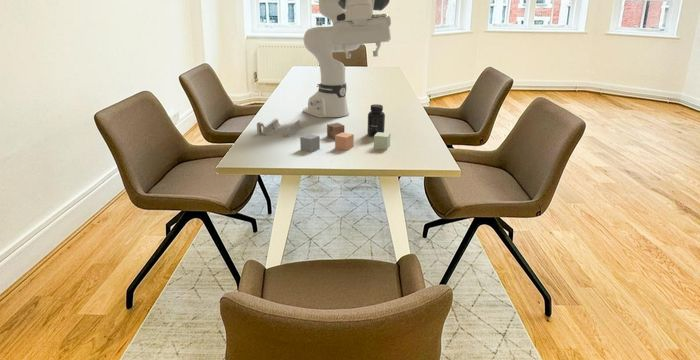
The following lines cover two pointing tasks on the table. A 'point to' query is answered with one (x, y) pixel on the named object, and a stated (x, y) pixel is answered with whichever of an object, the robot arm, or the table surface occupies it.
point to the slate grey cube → (310, 142)
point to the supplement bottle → (376, 120)
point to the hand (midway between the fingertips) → (362, 57)
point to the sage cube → (381, 140)
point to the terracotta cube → (344, 141)
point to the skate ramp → (274, 126)
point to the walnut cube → (334, 129)
